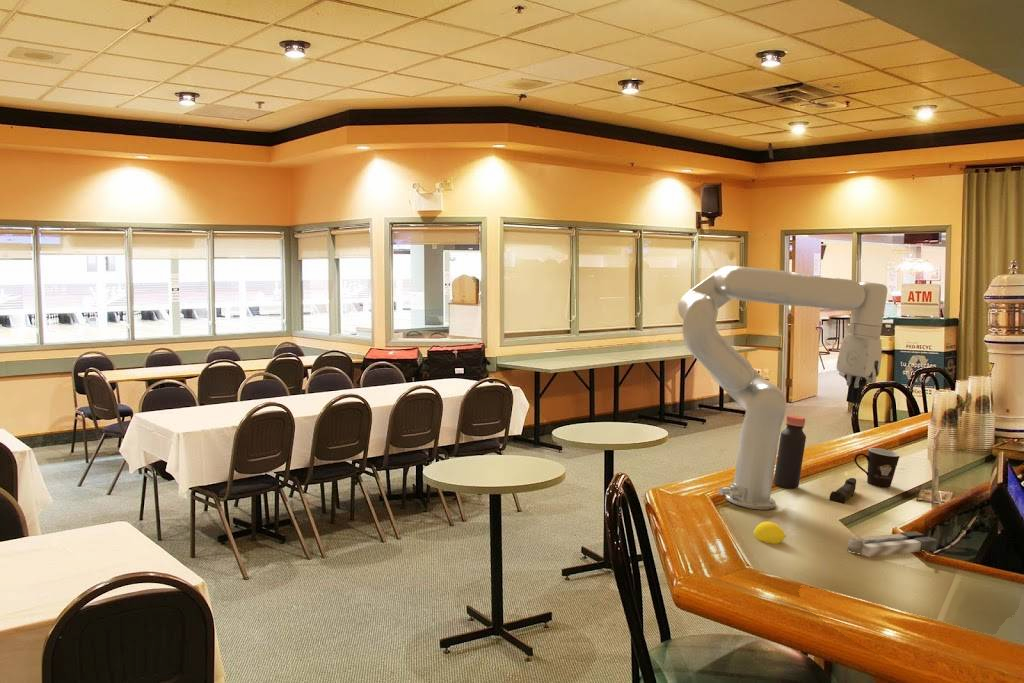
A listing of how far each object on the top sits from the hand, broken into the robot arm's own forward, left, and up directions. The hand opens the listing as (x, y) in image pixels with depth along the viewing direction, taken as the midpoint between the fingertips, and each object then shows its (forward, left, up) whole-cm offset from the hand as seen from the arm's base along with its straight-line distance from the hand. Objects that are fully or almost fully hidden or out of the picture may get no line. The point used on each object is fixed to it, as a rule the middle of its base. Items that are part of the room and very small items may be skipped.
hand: (853, 402), depth 209 cm
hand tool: (+12, +9, -30) cm, 33 cm away
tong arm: (-10, -25, -28) cm, 39 cm away
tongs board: (-11, -23, -29) cm, 39 cm away
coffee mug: (+36, +19, -29) cm, 50 cm away
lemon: (-38, -16, -29) cm, 51 cm away
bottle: (+3, +21, -29) cm, 36 cm away
